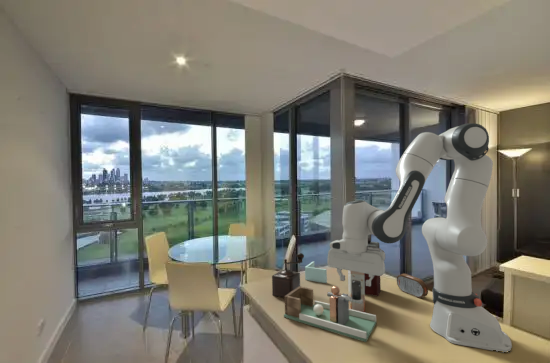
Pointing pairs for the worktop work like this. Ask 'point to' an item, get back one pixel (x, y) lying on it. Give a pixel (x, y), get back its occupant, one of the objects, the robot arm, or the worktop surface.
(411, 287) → the tin
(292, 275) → the manual coffee grinder
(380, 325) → the worktop surface
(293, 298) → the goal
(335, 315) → the black head mallet
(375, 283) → the toy vending machine
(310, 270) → the right angle wall
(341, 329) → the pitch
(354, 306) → the cracker box
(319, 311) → the ball
